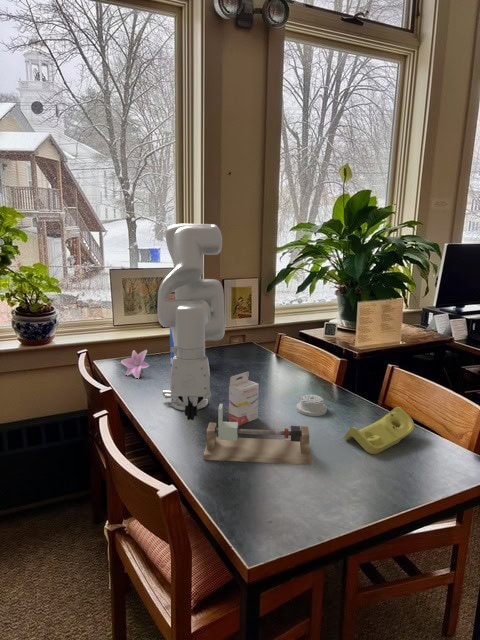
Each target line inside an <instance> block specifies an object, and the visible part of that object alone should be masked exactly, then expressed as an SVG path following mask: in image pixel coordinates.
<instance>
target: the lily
mask: <svg viewBox="0 0 480 640" xmlns="http://www.w3.org/2000/svg"><path fill="white" fill-rule="evenodd" d="M147 353H148V349H145V350H143V351H141V352H139V353H137V351H136V350H134V349H133V350H132V352H131V357H127V358H125V359H122V360H121V361H120V362H121V364H122V365H123V366H125V367H126V368H127V370H126V372H125V375H127V376H129V375H131V374H132V375H133V377H134V378H135V379H136V378H138V379H137V380H140V379H139V378H140V375H141V372H142V371H143V372H144V370H143V369H146V368H149V367H150V364H149V363H147V362H146V361H144V360H145V358H146V354H147ZM125 375H124V376H125Z"/></svg>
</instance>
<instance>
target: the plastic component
mask: <svg viewBox="0 0 480 640" xmlns="http://www.w3.org/2000/svg"><path fill="white" fill-rule="evenodd" d="M414 428H415V423H414V421H413V418H412V417H411V416H410V415H409V414H408V413H407V412H406V411H404V410H403V408H402V407H400V406H396V407H394V408H393V409H391V410H390V411H388V413H386V414H385V415H383V416H381V418H379V419H378V420H376V421H374V423H371V424H370V425H366V426H364V427H363V428H361V429H358V428H357V427H354V426H353V427H351V428H350V429H349V430H348V431H347V432H346V434H345V435H344V436H343V438H344V440H346V441H350V440H352V439H354V440H356V442H357V443H358V444H359V445H360V446H361V447H362V448H363V450H364V451H365V452H367V453H368V454H370V455H377V454H379V453H381V452H383V451H385V450H387V449H389V448H391V447H393V446H395V445H396V444H399V443H400V442H401V440H402V439H405V438H406V437H407V436H408V435H410V434H411V432H412V431H413V430H414Z"/></svg>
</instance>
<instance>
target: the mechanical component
mask: <svg viewBox="0 0 480 640" xmlns="http://www.w3.org/2000/svg"><path fill="white" fill-rule="evenodd" d="M324 403H325V402H324V398H323V397H322V395H321V396H319V395H317V394H311V393H310V394H309V393H308V394H304V395H302V396H301V397H300V402H298V403H297V404H296V411H297V412H298V413H300V414H301V415H304V416H309V417H319V416H323V415H325V414H327V413H328V412H327V411H328V407H327V405H325V404H324Z"/></svg>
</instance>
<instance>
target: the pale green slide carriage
mask: <svg viewBox="0 0 480 640" xmlns="http://www.w3.org/2000/svg"><path fill="white" fill-rule="evenodd" d="M217 410H218V411H217V413H218V417H217V418H218V420H217V421H218V422H217V428H218V433H217V434H218V436H217V437H218V440H236V441H237V438H239V434H237V429H239V426H238V422H230V421H224V420H223V418H224V415H223V414H224V404H223V403H219V405H218V408H217Z"/></svg>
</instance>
